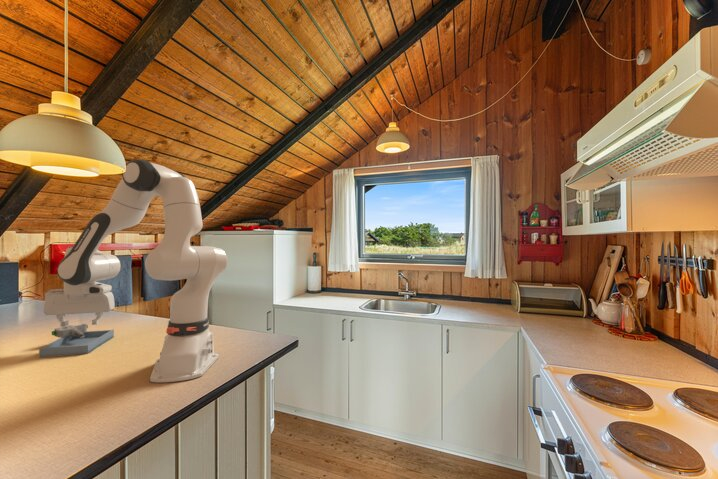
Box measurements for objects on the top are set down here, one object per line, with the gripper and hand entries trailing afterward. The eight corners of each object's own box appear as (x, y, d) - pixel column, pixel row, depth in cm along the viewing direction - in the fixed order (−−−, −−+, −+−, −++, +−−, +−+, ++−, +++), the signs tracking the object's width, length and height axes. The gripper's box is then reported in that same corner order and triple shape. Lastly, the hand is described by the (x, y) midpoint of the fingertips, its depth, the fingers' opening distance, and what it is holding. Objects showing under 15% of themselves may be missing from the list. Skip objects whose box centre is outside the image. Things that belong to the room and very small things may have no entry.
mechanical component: (99, 328, 116) (85, 322, 120) (65, 336, 106) (51, 328, 110) (98, 335, 116) (85, 329, 120) (64, 344, 107) (51, 336, 111)
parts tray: (87, 353, 104) (87, 345, 104) (39, 357, 100) (39, 348, 100) (113, 337, 121) (113, 329, 121) (72, 339, 117) (73, 332, 117)
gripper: (38, 291, 104) (38, 330, 104) (108, 288, 110) (108, 325, 110) (51, 288, 110) (51, 325, 110) (116, 285, 116) (116, 320, 116)
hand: (80, 325), depth 110 cm, fingers open, 8 cm apart
